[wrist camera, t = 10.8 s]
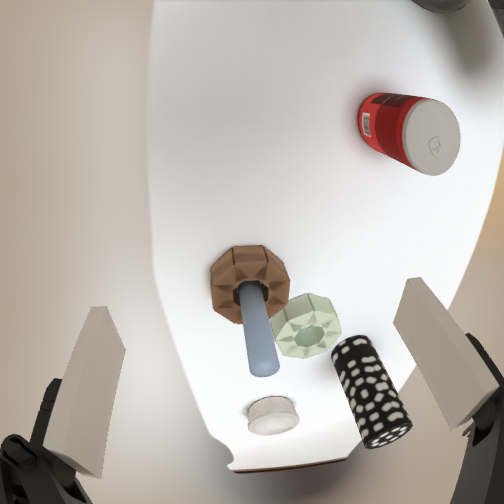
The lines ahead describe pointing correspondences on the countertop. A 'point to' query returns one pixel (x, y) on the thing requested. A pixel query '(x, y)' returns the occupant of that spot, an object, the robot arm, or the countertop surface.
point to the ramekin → (272, 416)
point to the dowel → (257, 330)
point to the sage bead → (301, 316)
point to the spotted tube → (370, 392)
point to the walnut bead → (248, 269)
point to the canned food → (411, 131)
